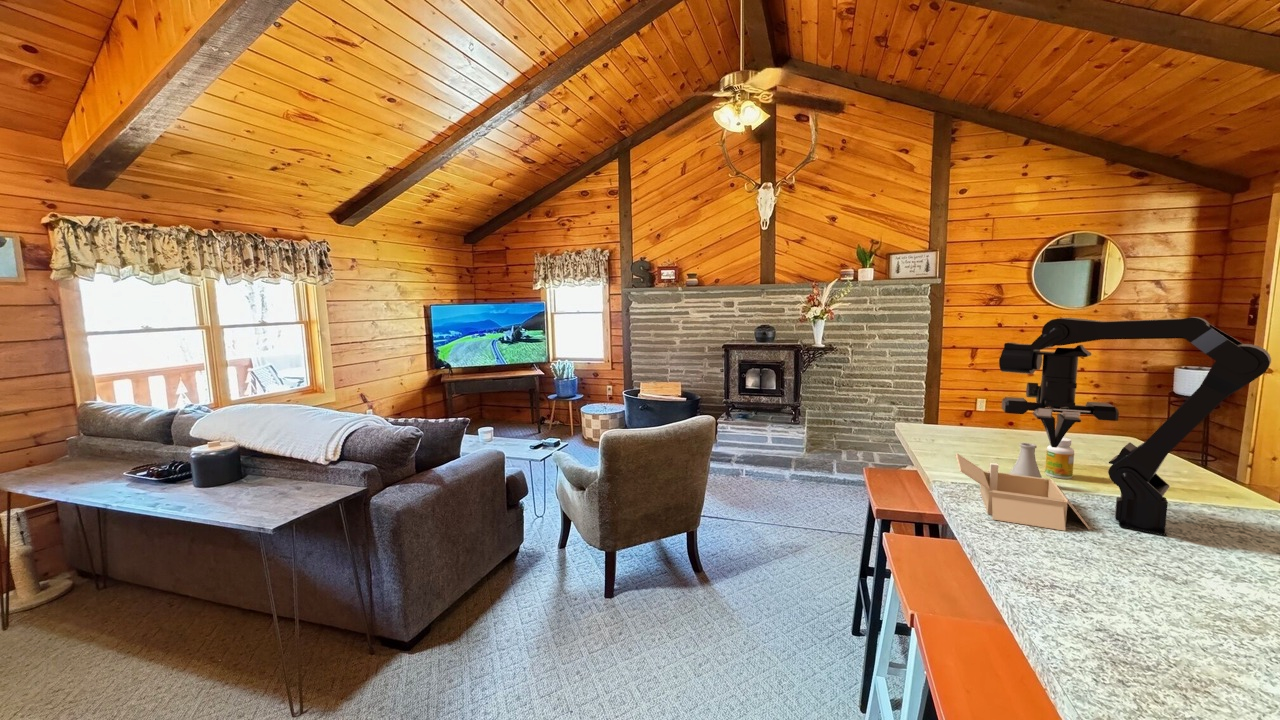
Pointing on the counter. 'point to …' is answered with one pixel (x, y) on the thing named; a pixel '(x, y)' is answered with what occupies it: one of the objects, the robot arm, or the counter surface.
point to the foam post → (993, 476)
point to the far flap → (972, 471)
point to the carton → (1027, 501)
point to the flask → (1026, 461)
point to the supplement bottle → (1060, 460)
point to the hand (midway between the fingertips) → (1053, 446)
